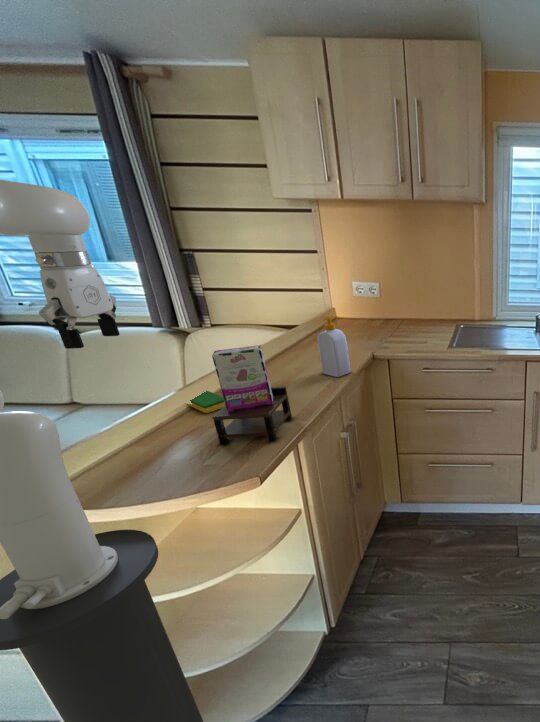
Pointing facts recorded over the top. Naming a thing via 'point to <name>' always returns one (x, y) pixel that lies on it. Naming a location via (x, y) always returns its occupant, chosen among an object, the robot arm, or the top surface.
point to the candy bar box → (243, 377)
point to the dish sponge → (208, 402)
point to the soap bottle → (333, 350)
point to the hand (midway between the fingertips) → (94, 341)
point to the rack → (254, 419)
